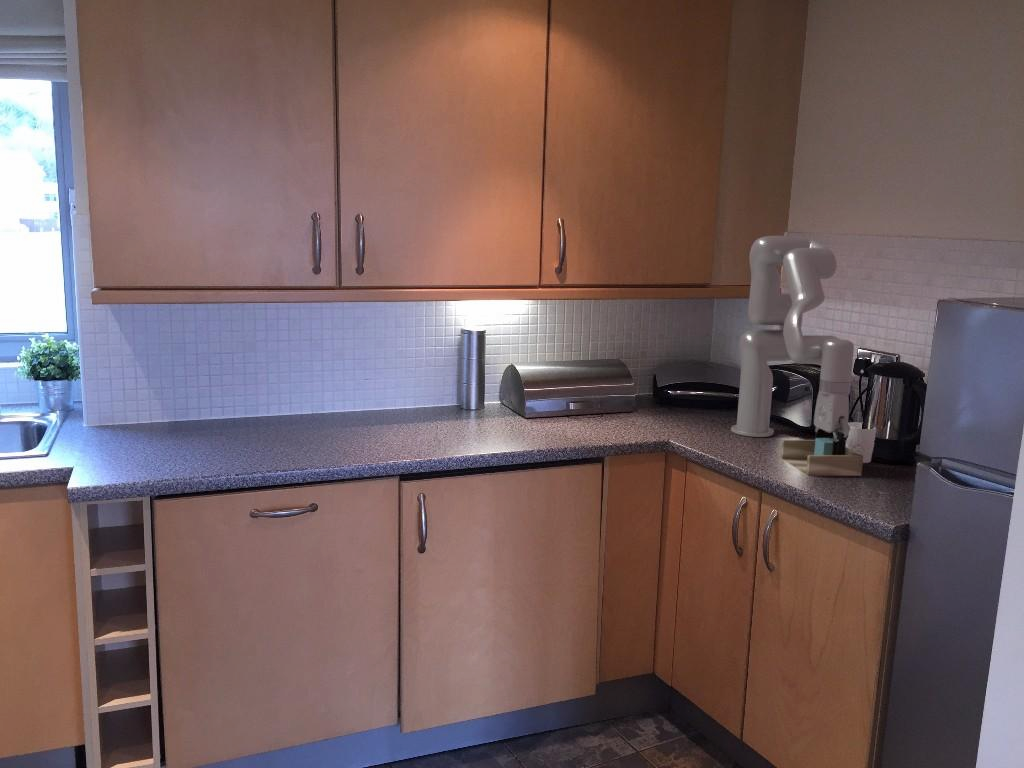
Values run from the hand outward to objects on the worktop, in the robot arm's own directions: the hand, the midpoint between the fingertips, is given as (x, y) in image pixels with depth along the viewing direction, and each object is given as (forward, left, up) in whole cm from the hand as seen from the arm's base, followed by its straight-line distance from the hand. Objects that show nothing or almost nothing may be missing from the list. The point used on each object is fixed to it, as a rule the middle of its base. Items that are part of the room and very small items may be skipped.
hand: (829, 451), depth 229 cm
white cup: (-7, +12, -5) cm, 15 cm away
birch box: (-1, -2, -5) cm, 5 cm away
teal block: (-1, 0, -4) cm, 4 cm away
